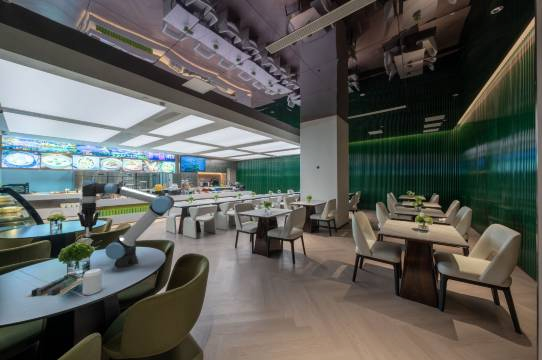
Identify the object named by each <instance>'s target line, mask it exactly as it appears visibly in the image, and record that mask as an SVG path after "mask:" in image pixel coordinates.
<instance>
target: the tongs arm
mask: <svg viewBox="0 0 542 360" xmlns="http://www.w3.org/2000/svg"><path fill="white" fill-rule="evenodd" d="M76 274H77V272H70V273H68V274H65V275H64V276H63V277H59V278H57V279H55V280H53V281H51V282H50V283H48V284H45V285H43V286H40V287H37V288H34V289H32V290H31V293H30V294H31V296H36V297H39V296H38V295H42V294H44V293H46V292H48V289H50V288H52V287H54V286H56V285H58V284H59V283H61V282H63V281H65V280H66V279H68V278H69V276H73V275H75V276H76Z"/></svg>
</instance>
